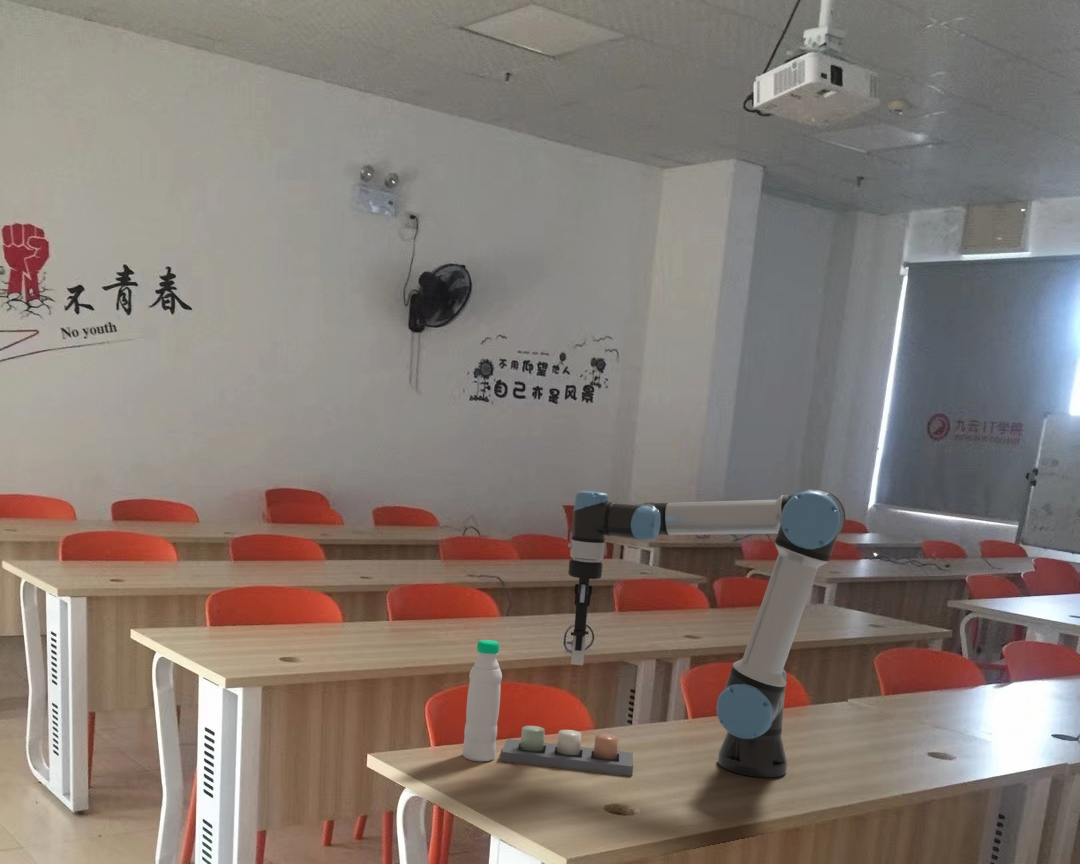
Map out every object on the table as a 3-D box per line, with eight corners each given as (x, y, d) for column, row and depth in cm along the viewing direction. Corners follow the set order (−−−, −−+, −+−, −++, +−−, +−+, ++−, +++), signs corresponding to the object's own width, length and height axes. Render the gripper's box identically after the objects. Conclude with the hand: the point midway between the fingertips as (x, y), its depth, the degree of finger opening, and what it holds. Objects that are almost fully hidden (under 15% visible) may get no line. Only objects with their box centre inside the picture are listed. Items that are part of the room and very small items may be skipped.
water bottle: (490, 764, 223) (501, 646, 223) (458, 759, 225) (468, 642, 225) (498, 755, 230) (508, 640, 230) (466, 750, 232) (476, 636, 232)
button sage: (544, 745, 233) (545, 727, 233) (542, 751, 228) (544, 733, 228) (521, 742, 233) (523, 724, 233) (519, 749, 228) (521, 730, 228)
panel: (631, 761, 234) (632, 752, 234) (632, 775, 224) (633, 766, 224) (506, 747, 236) (507, 738, 236) (501, 761, 226) (501, 751, 226)
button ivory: (580, 749, 232) (581, 731, 232) (579, 756, 227) (581, 737, 227) (557, 746, 233) (559, 728, 233) (556, 753, 228) (557, 734, 228)
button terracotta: (616, 753, 232) (618, 735, 232) (616, 760, 227) (618, 741, 227) (594, 750, 232) (595, 732, 232) (593, 757, 227) (595, 739, 227)
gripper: (571, 555, 246) (562, 656, 246) (568, 561, 233) (558, 668, 233) (603, 558, 246) (594, 659, 245) (602, 564, 232) (592, 672, 232)
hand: (577, 663), depth 239 cm, fingers closed
